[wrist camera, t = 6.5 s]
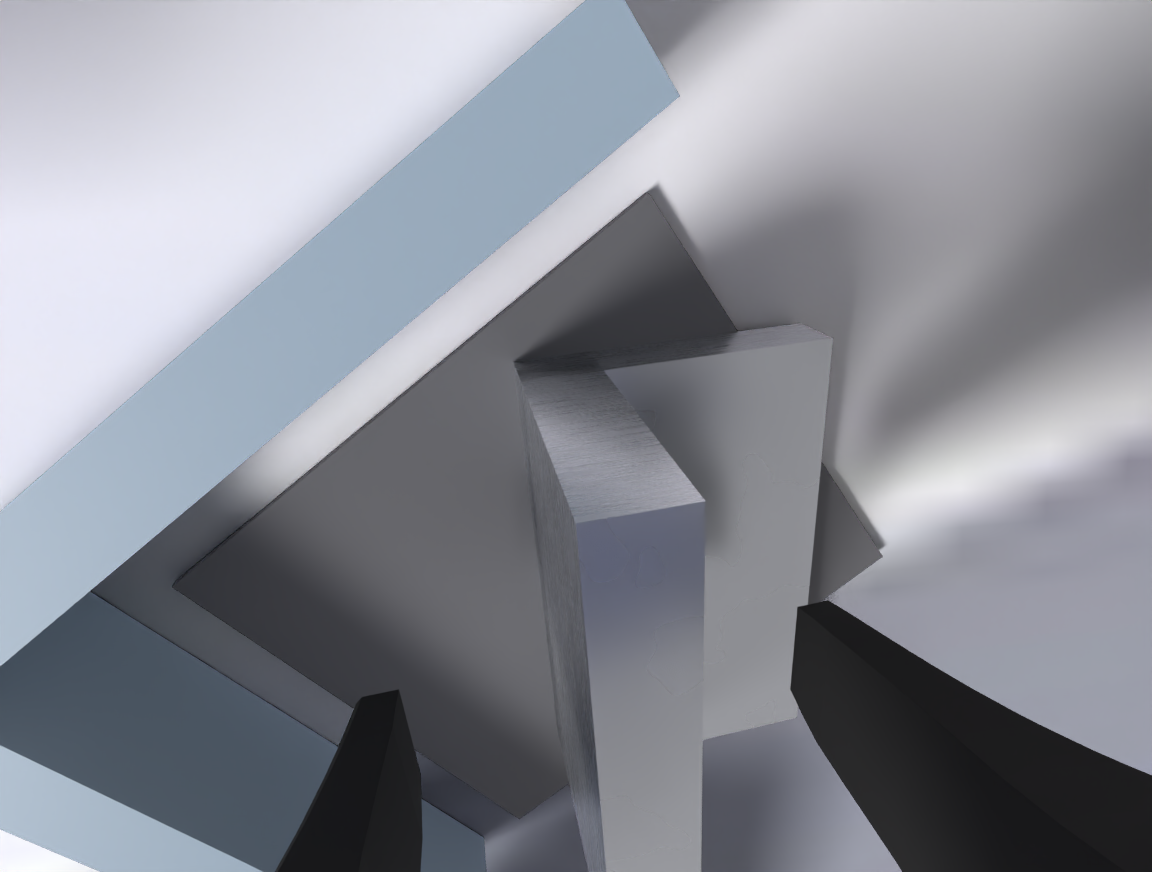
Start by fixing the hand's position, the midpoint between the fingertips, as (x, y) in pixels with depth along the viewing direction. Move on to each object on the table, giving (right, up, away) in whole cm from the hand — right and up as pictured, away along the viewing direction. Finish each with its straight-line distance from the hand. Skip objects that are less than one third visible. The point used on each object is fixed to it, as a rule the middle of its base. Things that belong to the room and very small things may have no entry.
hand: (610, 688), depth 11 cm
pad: (-1, +1, +3) cm, 4 cm away
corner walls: (-2, +2, +3) cm, 4 cm away
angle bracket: (+2, +2, +4) cm, 4 cm away
